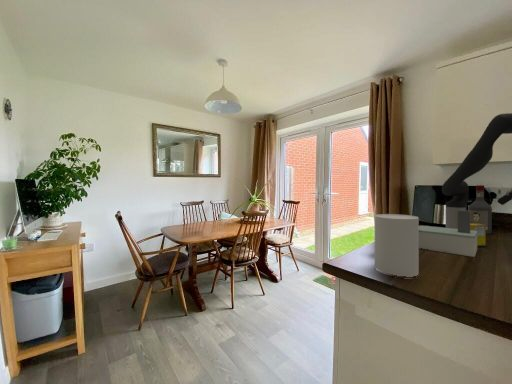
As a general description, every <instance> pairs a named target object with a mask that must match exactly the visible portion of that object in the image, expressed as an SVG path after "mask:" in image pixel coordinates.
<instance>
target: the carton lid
mask: <svg viewBox="0 0 512 384" xmlns="http://www.w3.org/2000/svg"><path fill="white" fill-rule="evenodd" d="M419 232H425V233H433V234H442V235H451V236H460V237H468V238H475V237H476V235H477V231H473V230H470V211H469V210H467V209H466V210H458V229H453V228H446V227H441V226H430V225H419Z"/></svg>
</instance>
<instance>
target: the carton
mask: <svg viewBox="0 0 512 384" xmlns="http://www.w3.org/2000/svg"><path fill="white" fill-rule="evenodd" d="M421 248H422V249H421ZM419 249H421V250H427V249H428V251H433V252H441V253H447V254H452V255H458V256H466V257H471V258H475V257H476V254H477V252H478V247H477V235H476V237H475V238H468V237H460V236H451V235H442V234H433V233H425V232H419Z"/></svg>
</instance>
